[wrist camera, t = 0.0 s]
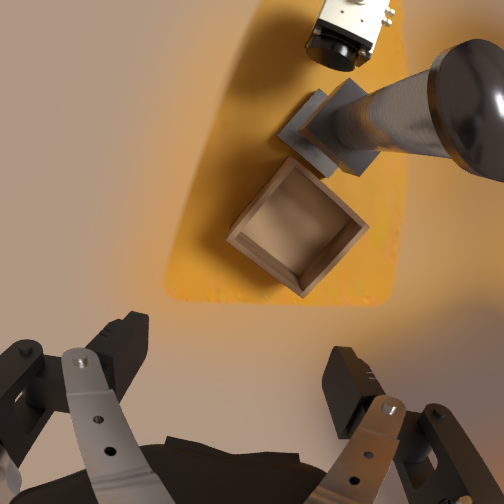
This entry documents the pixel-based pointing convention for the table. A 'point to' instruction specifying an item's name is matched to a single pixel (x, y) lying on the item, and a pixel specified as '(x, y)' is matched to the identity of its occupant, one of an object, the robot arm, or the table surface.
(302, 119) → the stud mount
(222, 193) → the table surface
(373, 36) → the pneumatic rotary actuator
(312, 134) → the strut
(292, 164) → the bin
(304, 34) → the table surface
